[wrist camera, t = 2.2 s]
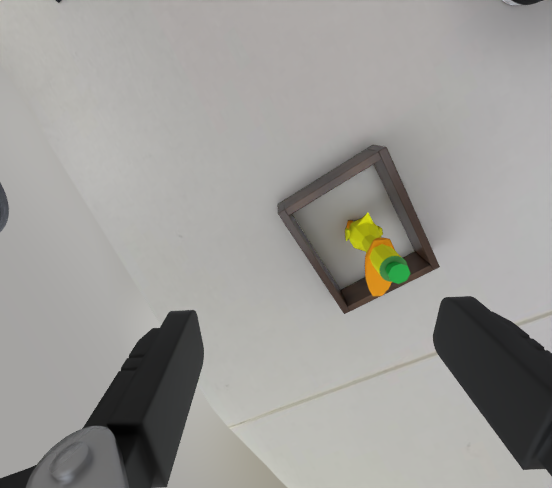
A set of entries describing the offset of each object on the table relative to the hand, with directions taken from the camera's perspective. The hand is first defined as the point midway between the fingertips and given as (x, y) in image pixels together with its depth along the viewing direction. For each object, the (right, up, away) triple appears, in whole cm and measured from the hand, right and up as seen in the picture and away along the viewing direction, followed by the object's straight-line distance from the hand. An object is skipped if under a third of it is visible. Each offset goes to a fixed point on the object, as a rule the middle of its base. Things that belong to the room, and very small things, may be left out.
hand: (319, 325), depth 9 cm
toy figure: (+8, +4, +22) cm, 24 cm away
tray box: (+8, +4, +22) cm, 24 cm away
